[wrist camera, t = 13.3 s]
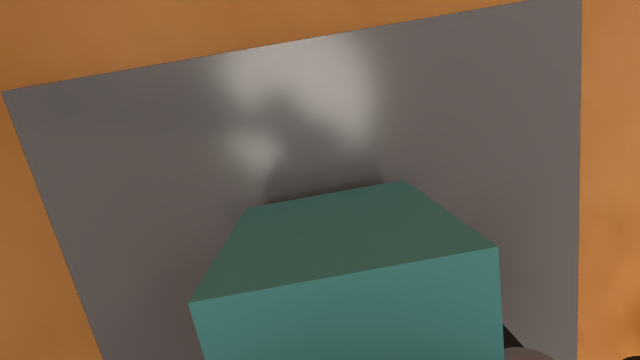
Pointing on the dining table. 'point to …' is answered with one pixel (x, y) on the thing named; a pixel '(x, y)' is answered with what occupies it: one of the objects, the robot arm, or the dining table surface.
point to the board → (316, 159)
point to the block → (352, 282)
